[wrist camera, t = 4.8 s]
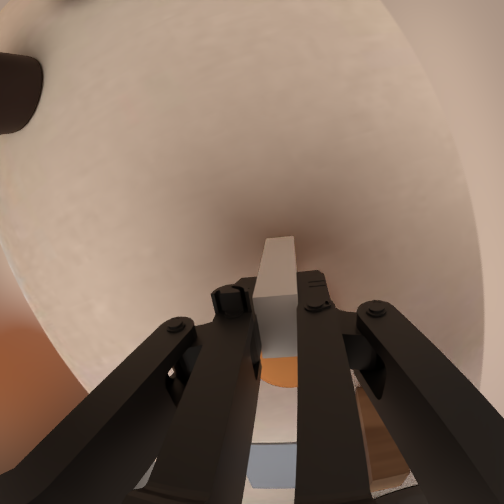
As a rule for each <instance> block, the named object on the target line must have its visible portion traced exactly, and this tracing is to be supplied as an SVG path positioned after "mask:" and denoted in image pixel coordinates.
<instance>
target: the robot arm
mask: <svg viewBox="0 0 504 504" xmlns="http://www.w3.org/2000/svg"><path fill="white" fill-rule="evenodd" d="M211 298H212V302H213V306H214V310H215V317H214V319H213V322H210V323H207V324H203V325H198V326H195V325H194V322H193V320H192V319H191V318H188V317H176V318H175V317H174V318H171V319H170V320H167V321H165V322H164V323H163V324H161V325H160V326H159V327H158V328H157V329H156V330H155V331H154V332H153V333H152V334H151V335H150V336H149V337H148V338H147V339H146V340H145V341H144V342H143V343H141V344H140V345H139V346H138V347H137V348H136V349H135V350H134V351H133V352H132V353H131V354H130V355H129V356H128V357H127V358H126V359H125V360H124V361H123V362H122V363H121V364H120V365H119V366H118V367H117V368H116V369H114V370H113V371H112V372H111V373H110V374H109V375H108V376H107V377H106V378H105V379H104V380H103V381H102V382H101V383H100V384H99V385H98V386H97V387H96V388H95V389H94V390H93V391H92V392H91V393H90V394H89V395H88V396H87V397H86V398H85V399H84V400H83V401H82V402H81V403H80V404H79V405H77V407H76V408H74V409H73V410H72V411H71V412H70V413H69V415H67V416H66V417H65V418H64V419H63V420H62V421H61V422H60V423H59V424H58V425H57V426H56V427H55V428H54V429H53V430H52V431H51V432H50V433H49V434H48V435H47V436H46V437H45V438H44V439H43V440H42V441H41V442H40V443H39V444H38V445H37V446H36V447H35V448H34V449H33V450H32V451H31V452H30V453H29V454H28V455H27V456H26V457H25V458H24V459H23V460H22V461H21V462H20V463H19V464H18V465H17V466H16V467H15V468H14V469H12V470H9V471H8V472H5V473H3V474H1V475H0V504H242V498H243V492H244V486H245V480H246V474H247V468H248V461H249V455H250V448H251V442H252V435H253V428H254V421H255V414H256V407H257V400H258V393H259V385H260V378H261V370H262V365H261V359H260V355H261V351H262V357H263V358H280V357H295V356H297V363H298V406H297V455H296V480H295V499H294V504H504V418H503V417H502V416H501V415H500V414H499V413H498V412H497V410H496V409H495V408H494V407H493V406H492V405H491V404H490V403H489V402H488V401H487V399H486V398H485V397H484V396H483V395H482V394H481V393H480V392H479V391H478V390H477V388H476V387H475V386H474V385H473V384H472V383H471V382H470V381H469V380H468V379H467V378H466V377H465V376H464V375H463V374H462V373H461V372H460V371H459V370H458V368H457V367H456V366H455V365H454V364H453V363H452V362H451V361H450V360H449V359H448V358H447V357H446V356H445V355H444V354H443V353H442V352H441V351H440V350H439V349H438V348H437V347H436V346H435V345H434V344H433V343H432V342H431V341H430V340H429V339H428V338H427V337H426V336H424V335H423V334H422V333H421V332H420V331H419V330H418V329H417V328H416V327H415V326H414V325H413V324H412V323H411V322H410V321H409V320H408V319H407V318H406V317H405V316H404V315H402V314H401V313H400V312H399V311H398V310H397V309H396V308H395V307H394V306H393V305H391V304H389V303H388V302H384V301H380V300H378V301H377V300H373V301H368V302H365V303H363V304H361V305H360V306H359V307H358V309H357V313H356V312H346V311H342V310H339V309H337V308H335V304H334V303H333V301H331V300H330V296H329V292H328V288H327V284H326V281H325V277H324V274H323V273H321V272H320V271H319V270H315V271H305V272H297V265H296V255H295V245H294V236H286V237H276V238H267V239H266V241H265V246H264V250H263V254H262V259H261V263H260V267H259V271H258V276H257V277H249V278H241V279H240V280H239V281H238V282H236V283H235V284H231V285H225V286H222V287H219V288H217V289H216V290H214V291H213V292H212V293H211ZM171 368H173V371H174V373H173V374H172V375H171V376H170V377H169V375H168V372H169V370H170V369H171ZM350 369H353V371H354V374H355V376H356V378H357V379H358V381H359V383H360V384H361V386H362V388H363V389H364V391H365V393H366V394H367V396H368V398H369V399H370V401H371V403H372V404H373V406H374V408H375V409H376V411H377V413H378V414H379V416H380V418H381V420H382V421H383V423H384V425H385V426H386V428H387V430H388V432H389V433H390V435H391V437H392V438H393V440H394V442H395V444H396V445H397V447H398V449H399V451H400V452H401V454H402V456H403V458H404V459H405V461H406V463H407V465H408V466H409V468H410V470H411V472H412V473H413V475H414V477H415V479H416V481H417V482H418V484H419V486H414V487H410V488H407V489H403V490H400V491H397V492H394V493H391V494H388V495H385V496H382V497H380V498H377V499H375V500H374V499H373V498H372V495H371V491H370V484H369V476H368V469H367V462H366V455H365V448H364V442H363V435H362V429H361V423H360V418H359V412H358V407H357V402H356V396H355V391H354V386H353V381H352V377H351V372H350ZM156 458H157V460H156V462H155V465H154V467H153V470H152V472H151V475H150V477H149V480H148V482H147V484H146V485H145V486H144V487H143V488H140V489H134V487H135V486H136V485H137V484H138V482H139V481H140V480H141V478H142V477H143V475H144V474H145V473H146V472H147V470H148V469H149V468H150V466H151V465H152V463H153V462H154V461H155V459H156ZM133 489H134V490H133Z"/></svg>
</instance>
